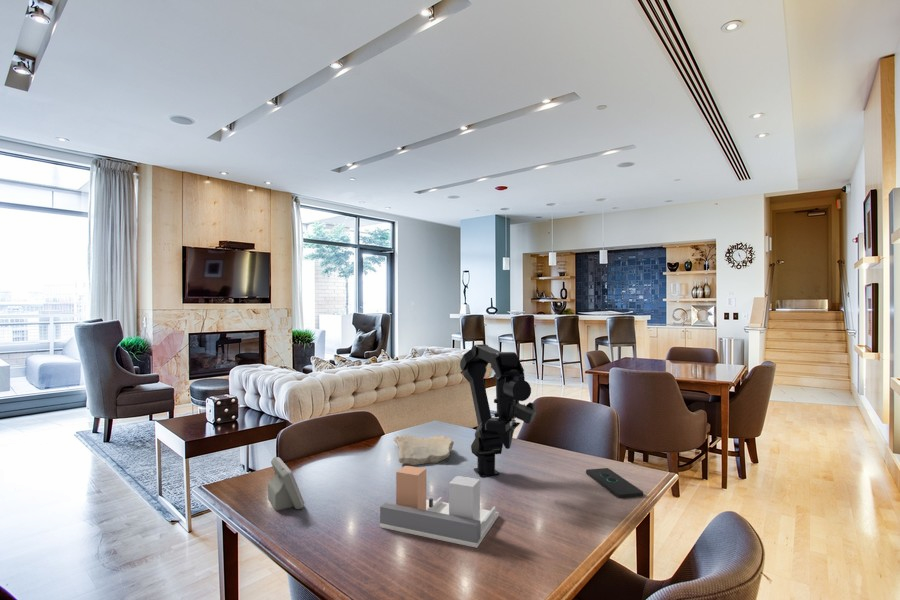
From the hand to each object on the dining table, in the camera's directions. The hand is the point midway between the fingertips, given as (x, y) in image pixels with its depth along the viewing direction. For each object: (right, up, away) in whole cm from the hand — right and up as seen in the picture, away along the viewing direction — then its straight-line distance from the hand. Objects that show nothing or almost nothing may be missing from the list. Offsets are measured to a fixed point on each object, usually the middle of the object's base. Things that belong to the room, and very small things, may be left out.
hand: (507, 448), depth 140 cm
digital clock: (-62, -12, -9) cm, 64 cm away
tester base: (-19, -12, -20) cm, 31 cm away
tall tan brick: (-27, -11, -19) cm, 34 cm away
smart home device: (+32, -13, +4) cm, 35 cm away
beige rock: (-27, -12, +32) cm, 44 cm away
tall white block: (-13, -11, -26) cm, 31 cm away
